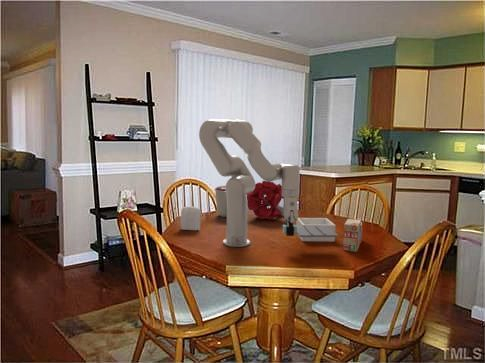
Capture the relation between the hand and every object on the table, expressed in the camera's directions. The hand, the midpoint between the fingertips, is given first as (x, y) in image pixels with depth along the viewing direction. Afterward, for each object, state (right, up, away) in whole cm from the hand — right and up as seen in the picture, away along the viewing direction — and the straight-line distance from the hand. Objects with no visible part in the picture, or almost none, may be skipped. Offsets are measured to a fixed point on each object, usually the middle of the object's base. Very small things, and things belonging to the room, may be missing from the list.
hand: (289, 234), depth 178 cm
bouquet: (-4, +1, +69) cm, 69 cm away
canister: (-29, +2, +73) cm, 79 cm away
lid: (+8, +1, 0) cm, 8 cm away
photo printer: (-48, -2, +36) cm, 60 cm away
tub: (+16, -5, +27) cm, 32 cm away
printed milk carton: (+32, -7, +14) cm, 35 cm away
